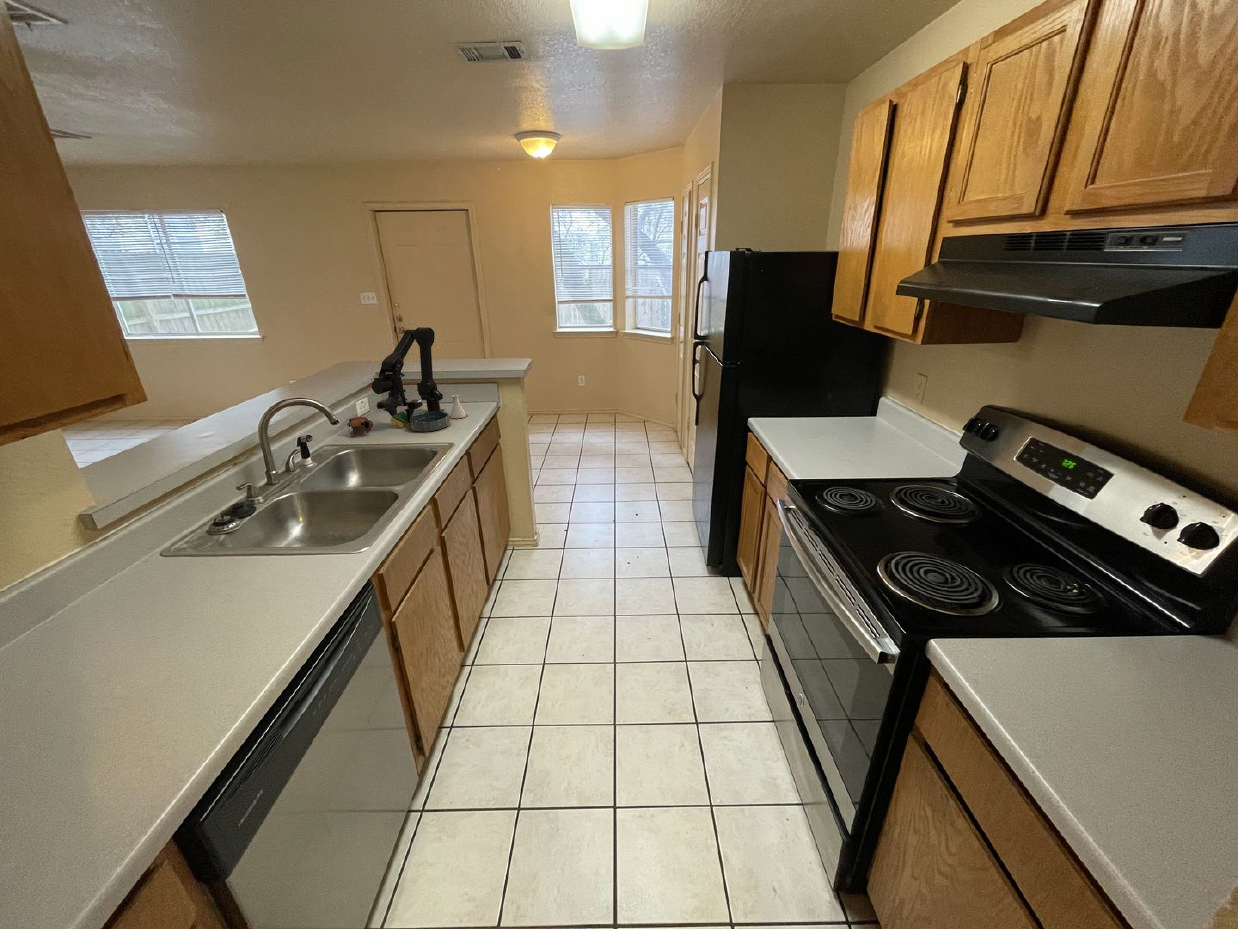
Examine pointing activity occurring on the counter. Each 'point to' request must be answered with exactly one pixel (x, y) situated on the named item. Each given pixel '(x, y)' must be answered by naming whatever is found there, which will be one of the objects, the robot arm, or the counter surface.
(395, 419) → the sponge
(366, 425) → the pottery mug
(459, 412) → the flask
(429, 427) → the bowl
